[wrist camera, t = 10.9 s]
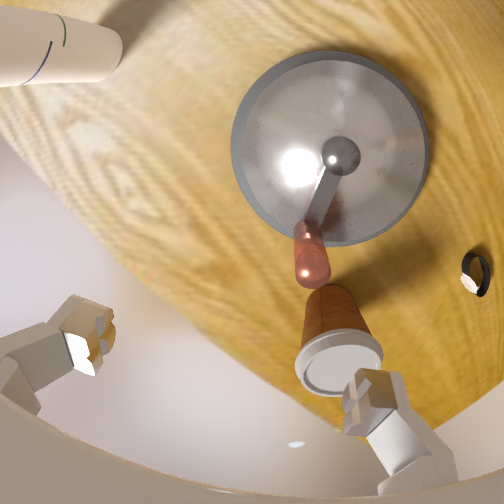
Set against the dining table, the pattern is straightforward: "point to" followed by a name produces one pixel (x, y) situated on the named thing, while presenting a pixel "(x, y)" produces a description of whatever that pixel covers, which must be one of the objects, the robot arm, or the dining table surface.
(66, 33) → the cylindrical container
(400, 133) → the handwheel
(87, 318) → the robot arm
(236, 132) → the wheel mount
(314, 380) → the disposable coffee cup
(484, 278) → the watch
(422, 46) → the dining table surface
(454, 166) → the dining table surface
